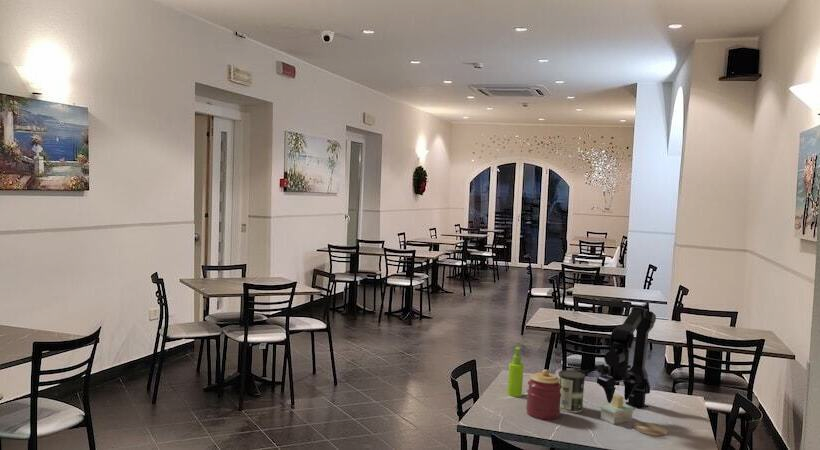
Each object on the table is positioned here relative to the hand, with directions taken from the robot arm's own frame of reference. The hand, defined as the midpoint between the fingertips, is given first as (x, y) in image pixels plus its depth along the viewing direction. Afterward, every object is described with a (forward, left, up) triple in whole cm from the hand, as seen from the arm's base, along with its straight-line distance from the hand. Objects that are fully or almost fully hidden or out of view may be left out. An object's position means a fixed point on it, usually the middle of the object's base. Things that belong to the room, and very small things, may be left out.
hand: (617, 401), depth 245 cm
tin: (0, 0, -7) cm, 7 cm away
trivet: (-5, +12, -7) cm, 15 cm away
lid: (0, 0, -3) cm, 3 cm away
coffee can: (+8, -17, -8) cm, 20 cm away
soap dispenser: (+18, -39, -8) cm, 44 cm away
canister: (+23, -16, -8) cm, 29 cm away
